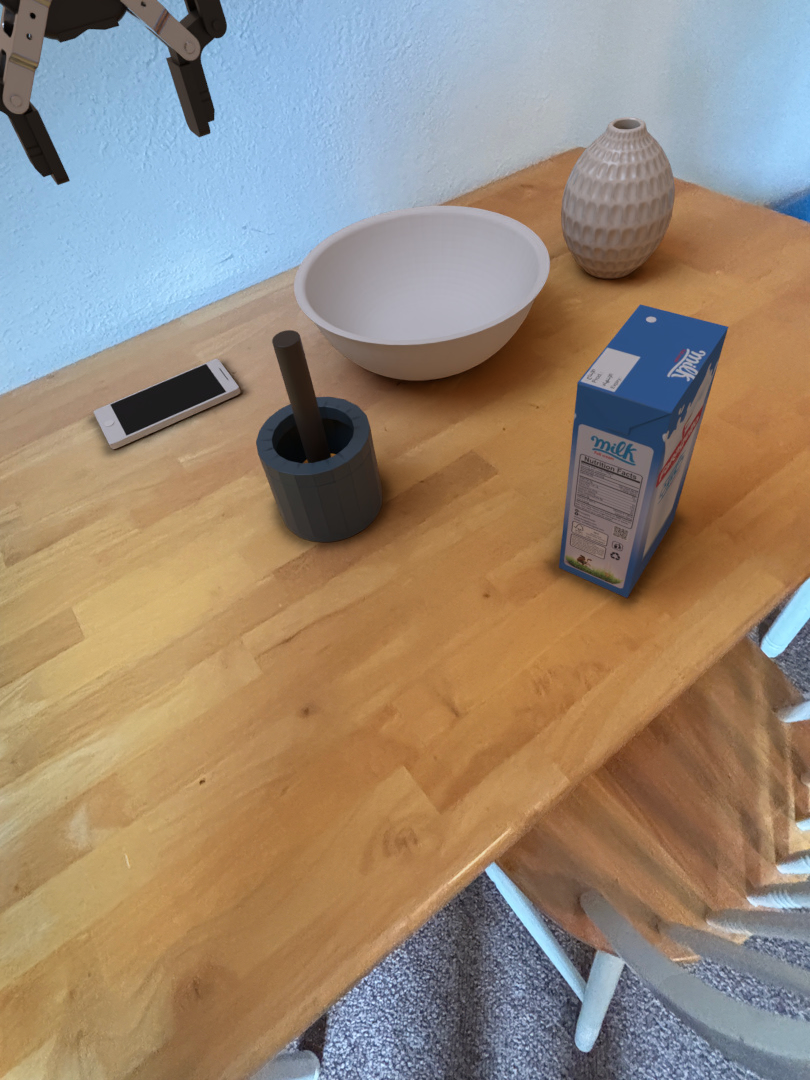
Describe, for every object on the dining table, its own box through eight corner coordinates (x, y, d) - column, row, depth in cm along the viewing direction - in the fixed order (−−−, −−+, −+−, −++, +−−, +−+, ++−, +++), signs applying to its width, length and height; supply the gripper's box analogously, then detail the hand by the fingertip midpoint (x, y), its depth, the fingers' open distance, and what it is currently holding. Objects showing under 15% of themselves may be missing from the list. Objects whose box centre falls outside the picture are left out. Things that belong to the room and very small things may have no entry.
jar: (309, 559, 65) (286, 492, 58) (264, 495, 70) (238, 427, 63) (402, 509, 67) (390, 439, 60) (351, 452, 73) (335, 382, 66)
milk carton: (626, 599, 58) (671, 412, 43) (558, 568, 61) (576, 382, 46) (673, 519, 63) (729, 325, 48) (608, 494, 66) (640, 303, 50)
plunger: (319, 523, 66) (271, 365, 52) (296, 493, 69) (245, 336, 55) (363, 499, 68) (327, 340, 54) (339, 471, 70) (299, 312, 56)
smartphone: (95, 416, 81) (91, 409, 80) (219, 363, 85) (217, 357, 84) (112, 450, 77) (108, 444, 76) (242, 393, 81) (239, 387, 80)
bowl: (284, 324, 89) (264, 249, 81) (478, 260, 94) (476, 183, 86) (361, 457, 72) (344, 378, 65) (592, 371, 77) (602, 288, 69)
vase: (538, 258, 93) (545, 119, 80) (623, 230, 95) (642, 91, 82) (592, 305, 85) (608, 160, 72) (683, 274, 87) (715, 127, 74)
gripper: (-218, -238, 24) (25, 221, 37) (166, -300, 28) (269, 135, 41) (-221, -234, 29) (-3, 175, 41) (112, -289, 33) (220, 101, 45)
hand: (132, 155), depth 41 cm, fingers open, 8 cm apart
